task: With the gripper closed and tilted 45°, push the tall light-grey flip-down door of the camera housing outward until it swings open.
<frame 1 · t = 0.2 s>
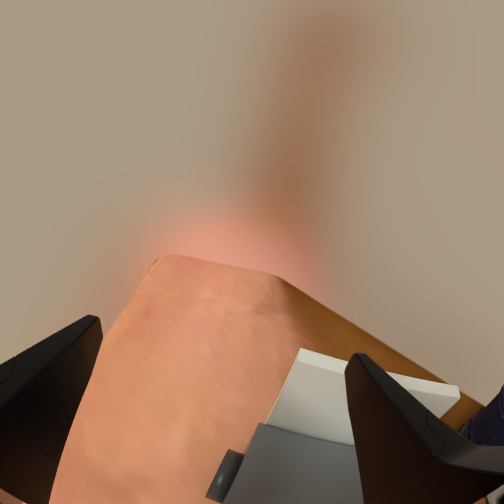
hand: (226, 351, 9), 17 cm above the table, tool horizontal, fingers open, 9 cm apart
storage jar: (467, 463, 16), on the table
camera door: (345, 425, 16), point 7 cm above the table, hinge at 0.0°
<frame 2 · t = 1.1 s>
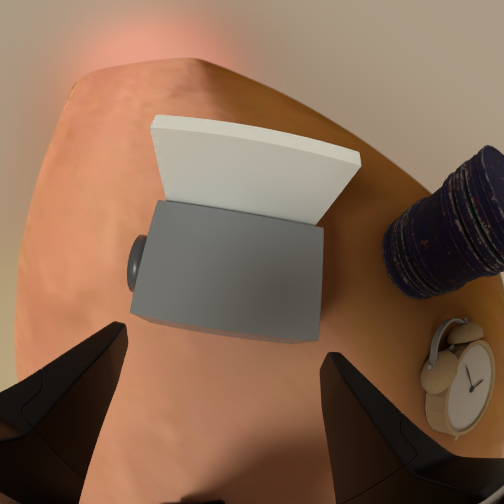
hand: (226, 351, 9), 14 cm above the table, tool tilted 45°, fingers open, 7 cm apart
alarm clock: (447, 377, 23), on the table
storage jar: (414, 258, 27), on the table
camera housing: (227, 288, 23), on the table
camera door: (245, 192, 19), point 7 cm above the table, hinge at 0.0°
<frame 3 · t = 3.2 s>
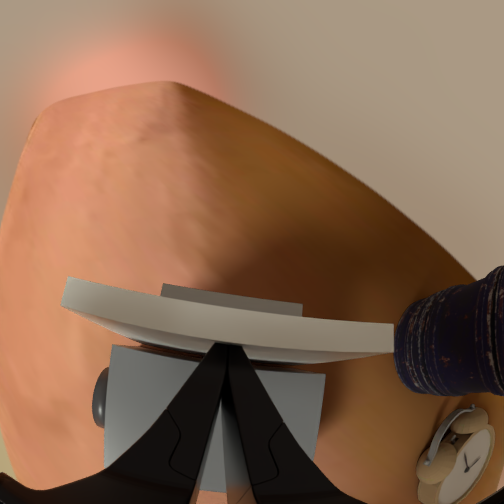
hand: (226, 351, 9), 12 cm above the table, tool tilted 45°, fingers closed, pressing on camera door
alarm clock: (445, 456, 18), on the table
storage jar: (427, 346, 22), on the table
camera housing: (211, 411, 18), on the table
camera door: (223, 336, 13), point 7 cm above the table, hinge at 4.1°, touching gripper
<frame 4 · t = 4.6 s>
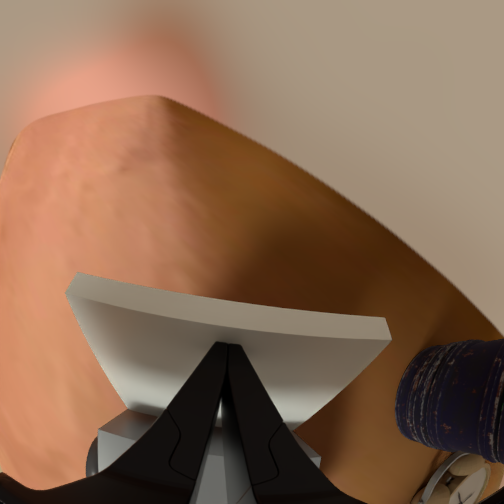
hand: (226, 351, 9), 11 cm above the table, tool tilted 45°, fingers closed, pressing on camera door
alarm clock: (440, 491, 15), on the table
storage jar: (430, 394, 19), on the table
camera housing: (204, 469, 15), on the table
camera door: (217, 382, 12), point 6 cm above the table, hinge at 31.2°, touching gripper
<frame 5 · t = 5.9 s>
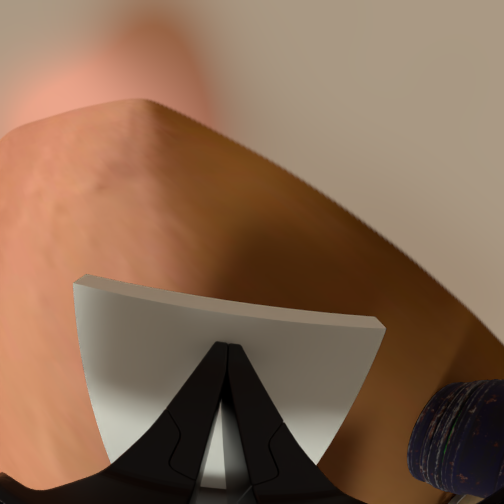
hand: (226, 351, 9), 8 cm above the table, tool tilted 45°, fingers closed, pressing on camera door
storage jar: (444, 433, 15), on the table
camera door: (213, 422, 11), point 4 cm above the table, hinge at 55.7°, touching gripper
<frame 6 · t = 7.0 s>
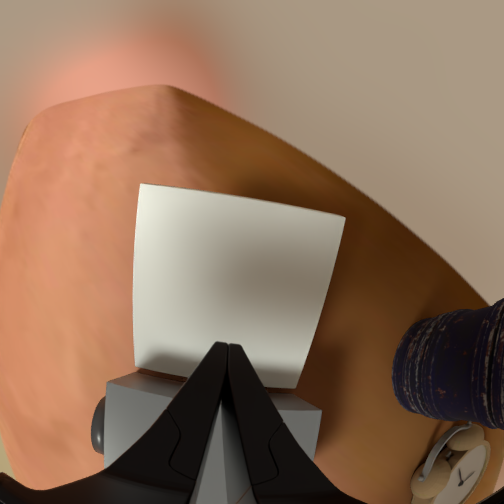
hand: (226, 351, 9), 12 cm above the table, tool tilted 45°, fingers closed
alarm clock: (440, 469, 17), on the table
storage jar: (427, 366, 21), on the table
camera housing: (208, 434, 17), on the table
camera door: (226, 302, 16), point 4 cm above the table, hinge at 55.7°
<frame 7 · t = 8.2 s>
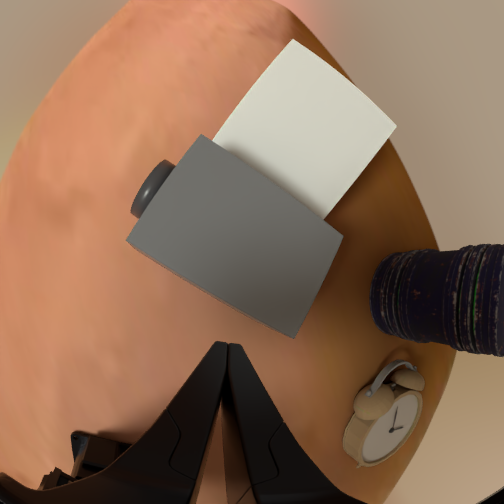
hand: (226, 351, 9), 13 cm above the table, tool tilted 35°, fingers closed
alarm clock: (375, 409, 28), on the table
storage jar: (396, 293, 29), on the table
camera housing: (224, 245, 22), on the table
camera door: (302, 136, 20), point 4 cm above the table, hinge at 55.7°
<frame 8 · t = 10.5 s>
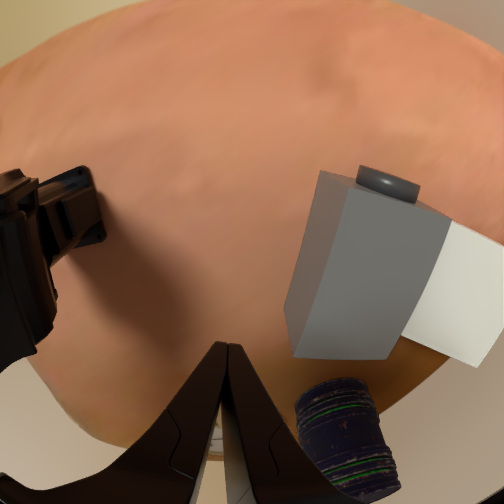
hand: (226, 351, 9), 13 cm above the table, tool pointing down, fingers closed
alarm clock: (221, 417, 32), on the table
storage jar: (331, 399, 31), on the table
camera housing: (347, 253, 22), on the table
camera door: (456, 292, 19), point 4 cm above the table, hinge at 55.7°
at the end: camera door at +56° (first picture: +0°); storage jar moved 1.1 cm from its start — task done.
